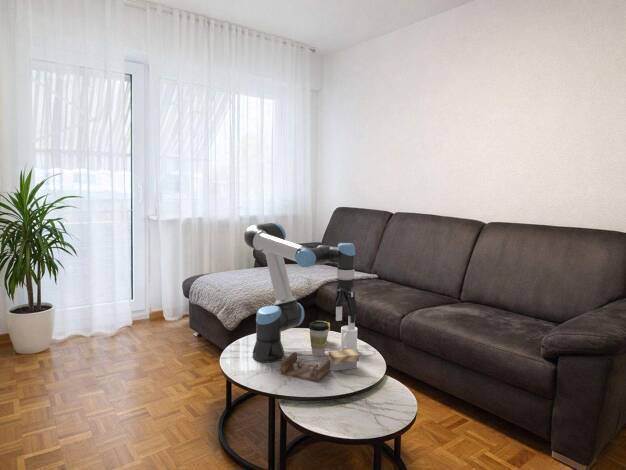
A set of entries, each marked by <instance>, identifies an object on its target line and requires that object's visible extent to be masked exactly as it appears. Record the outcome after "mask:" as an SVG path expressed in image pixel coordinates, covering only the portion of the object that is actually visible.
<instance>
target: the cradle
mask: <svg viewBox="0 0 626 470" xmlns="http://www.w3.org/2000/svg"><path fill="white" fill-rule="evenodd" d="M280 363H281V365H280V367H281V369H280V371H281V372H280V374H281V375H285V376H289V377H295V378H298V379H302V380H307V381H311V382H315V383H320V382H321V381H322V380H323V379H324V378H325V377H326V376H327V375H328V374H329V373H330V372H331V369H330V359H329V358H326V359H325V360H324V361H323V362H322V363H320V365H319V363H318V362H314V365H311V364H307V363H303V360H302V359H298V352H296V351H295V352H292V353H291V354H290V355H289V356H287V357H285V359H284V358H283V360H282V361H281V362H280Z"/></svg>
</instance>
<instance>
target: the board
mask: <svg viewBox="0 0 626 470" xmlns="http://www.w3.org/2000/svg"><path fill="white" fill-rule="evenodd" d="M327 357H328V358H327V359H330V360H331V361H332V363H333V364H341V363H348V362H355V361H357V362H360V354H359V353H358V351H357V352H356V351H354V350H353V349H348V350H340V349H339V350H335V351H334V350H332V351H328V356H327Z"/></svg>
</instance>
